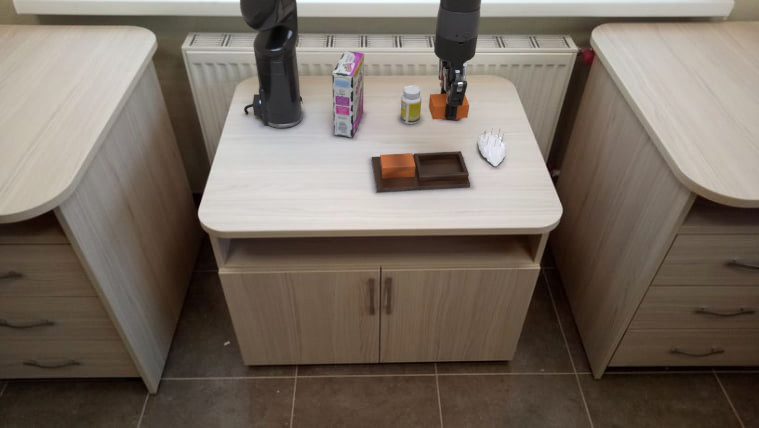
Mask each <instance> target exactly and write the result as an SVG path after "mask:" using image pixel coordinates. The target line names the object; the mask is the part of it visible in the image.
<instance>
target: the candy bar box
mask: <svg viewBox="0 0 759 428" xmlns="http://www.w3.org/2000/svg"><path fill="white" fill-rule="evenodd" d="M364 76H365V53H362V52H357V51H348V50H344V51H343V53H342V55H341V56H340V59H339V61H338V62H337V64H336V65H335V67H334V69H333V71H332V73H331V77H332V78H331V79H332V112H333V113H332V115H333V136H338V137H344V138H351V139H352V138H354V136H355V133H356V131H357V128H358V126H359V124H360V121H361V119H362V117H363V114H364V84H365V83H364V80H365V79H364V78H365V77H364Z"/></svg>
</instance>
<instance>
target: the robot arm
mask: <svg viewBox="0 0 759 428" xmlns="http://www.w3.org/2000/svg"><path fill="white" fill-rule="evenodd" d="M481 5H482V0H439V6H438V11H437V14H436V27H435V35H434V36H435V37H434V47H433V51H434V55H435V56H436V57H437V58H438V59H439V61H438V63H439V64H438V80H439V87H440V93H439V94H446V108H445V119H444V120H447V121H450V120H451V121H454V120H453V119H456V115H457V108H458V106H462V104H463V100H464V96H466V91H467V89H468V88H467V87H468V82H467V80H466V81H464V76H465V66H463V64H464V63H465V62H468V61H471V60H472V59H474V57H475V55H476V50H477V44H478V37H479V30H480V23H481ZM239 9H240V13H241V16H242V18H243V21H244V22H245V24H246V25H247V26H248V27H249V28H250V29H252V30H254V31H257V34H256V36H255V38H254V40H253V44H252V45H253V53H254V59H255V66H256V74H257V80H258V93H255V94H253V98H252V103H251V104H247V105H245V106H244V107H243V111H244V113H245V114H246V115H248V114H249V111H248V109H250V108H252V111H253V115H254V116H262V123H263V126H269V127H271V128H272V127H273V128H276V129H287V128H291V127H293V126H296V125H298V124H300V123H301V121H302V120H303V118H304V117H303V108H302V104H303V98H302V96H301V88H300V79H299V78H300V76H299V67H298V55H297V42H298V39H299V19H298V16H299V15H298V3H297V0H239Z"/></svg>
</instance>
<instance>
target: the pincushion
mask: <svg viewBox="0 0 759 428" xmlns="http://www.w3.org/2000/svg"><path fill="white" fill-rule="evenodd" d="M491 130H493V128H492V129H491ZM498 131H499V132H501V129H499V130H498ZM504 134H505V133H503V134H502V136H504ZM499 135H500V134H498V135H497V134H494V133H493V131H491V132H487V131H484V133H482V134H481V135H479V136H478V138H477V145H478V149H479V152H480V153H481V155H482V157H483V158H485V159H486V160H487V162H489V163H490V164H491V165H492V166H493V167H498V165H500V163H501V162H503V160H504V158H505V157H506V154H507V147H506V144H505V142H504V140H503V139H504V138H502V137H500V136H499Z"/></svg>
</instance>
